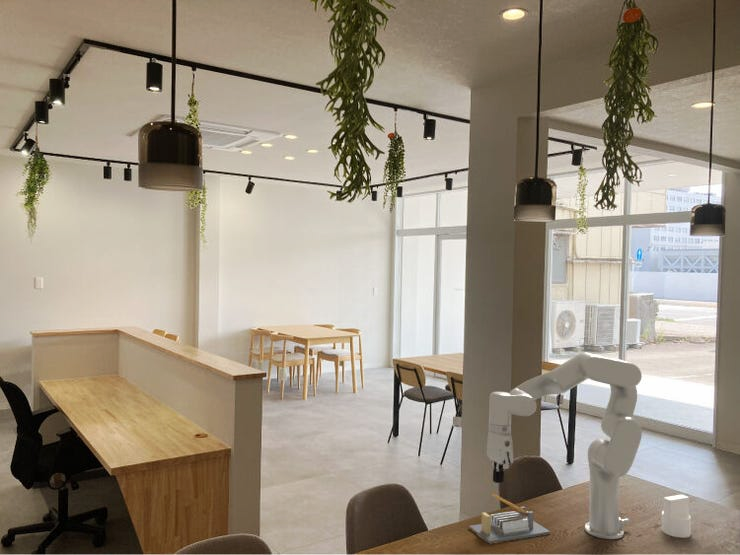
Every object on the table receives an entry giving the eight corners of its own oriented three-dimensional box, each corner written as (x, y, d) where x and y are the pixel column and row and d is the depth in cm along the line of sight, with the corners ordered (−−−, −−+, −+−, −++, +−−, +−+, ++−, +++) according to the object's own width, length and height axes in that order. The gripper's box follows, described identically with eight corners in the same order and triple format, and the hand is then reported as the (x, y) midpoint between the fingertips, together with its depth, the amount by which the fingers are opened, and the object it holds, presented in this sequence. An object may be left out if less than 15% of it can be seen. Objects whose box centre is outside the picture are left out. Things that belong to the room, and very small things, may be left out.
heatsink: (514, 521, 211) (514, 510, 211) (529, 531, 203) (529, 520, 203) (489, 525, 208) (489, 513, 208) (504, 535, 199) (504, 523, 200)
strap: (524, 513, 209) (526, 510, 210) (529, 516, 207) (531, 513, 207) (491, 495, 205) (492, 492, 205) (496, 499, 202) (497, 495, 202)
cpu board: (527, 519, 216) (527, 500, 216) (550, 534, 203) (550, 513, 203) (469, 528, 207) (469, 508, 207) (489, 544, 195) (489, 523, 195)
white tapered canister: (674, 525, 212) (675, 491, 212) (696, 535, 204) (697, 500, 204) (655, 528, 209) (655, 494, 209) (677, 539, 201) (677, 503, 201)
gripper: (521, 433, 198) (520, 488, 198) (497, 422, 213) (495, 474, 212) (502, 434, 196) (500, 490, 196) (478, 423, 210) (477, 475, 210)
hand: (498, 481), depth 204 cm, fingers closed
